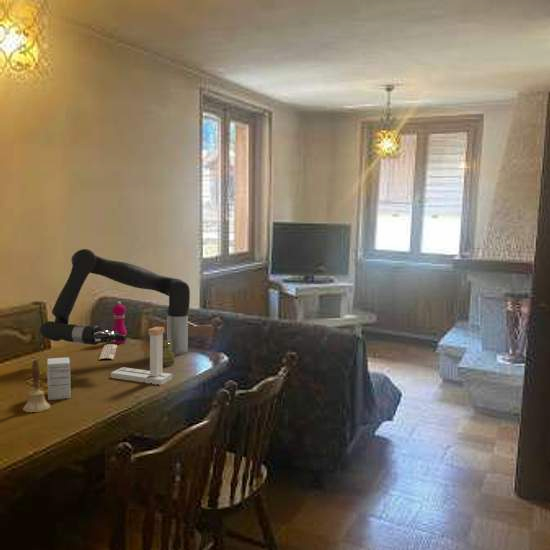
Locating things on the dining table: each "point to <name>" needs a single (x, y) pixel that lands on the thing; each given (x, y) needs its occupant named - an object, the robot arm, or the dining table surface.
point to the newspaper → (108, 351)
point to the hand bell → (36, 393)
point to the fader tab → (156, 350)
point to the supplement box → (58, 378)
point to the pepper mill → (119, 321)
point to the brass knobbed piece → (168, 354)
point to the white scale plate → (140, 376)
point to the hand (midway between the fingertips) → (124, 338)
